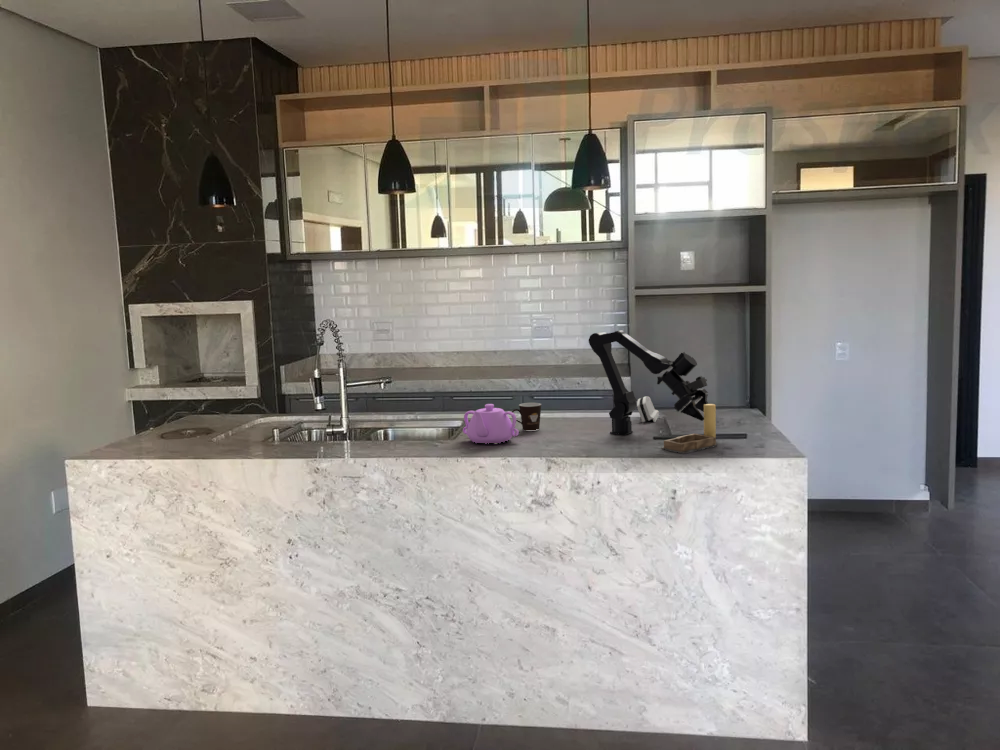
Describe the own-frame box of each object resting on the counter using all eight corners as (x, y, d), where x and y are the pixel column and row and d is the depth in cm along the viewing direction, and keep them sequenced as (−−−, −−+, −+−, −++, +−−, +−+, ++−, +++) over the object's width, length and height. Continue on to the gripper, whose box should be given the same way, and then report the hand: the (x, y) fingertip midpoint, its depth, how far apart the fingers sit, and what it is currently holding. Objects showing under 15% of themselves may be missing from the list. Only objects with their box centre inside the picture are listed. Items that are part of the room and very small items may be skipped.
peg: (701, 442, 272) (701, 405, 270) (706, 439, 275) (706, 403, 273) (712, 443, 269) (712, 406, 267) (717, 441, 272) (717, 404, 270)
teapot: (448, 448, 277) (447, 410, 276) (471, 435, 298) (470, 399, 296) (506, 450, 270) (505, 411, 268) (526, 437, 290) (525, 401, 288)
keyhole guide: (683, 453, 256) (683, 444, 255) (661, 448, 264) (661, 440, 263) (716, 446, 265) (716, 437, 264) (694, 441, 273) (694, 433, 272)
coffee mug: (542, 427, 307) (541, 402, 306) (541, 431, 299) (540, 406, 297) (513, 427, 308) (512, 403, 307) (511, 432, 300) (510, 406, 299)
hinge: (655, 422, 309) (646, 398, 309) (643, 426, 310) (634, 402, 310) (659, 414, 324) (651, 392, 324) (649, 418, 326) (640, 395, 326)
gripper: (682, 373, 264) (714, 406, 259) (702, 366, 280) (732, 398, 275) (661, 394, 270) (692, 428, 265) (681, 386, 285) (711, 418, 280)
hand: (707, 417), depth 271 cm, fingers open, 9 cm apart
